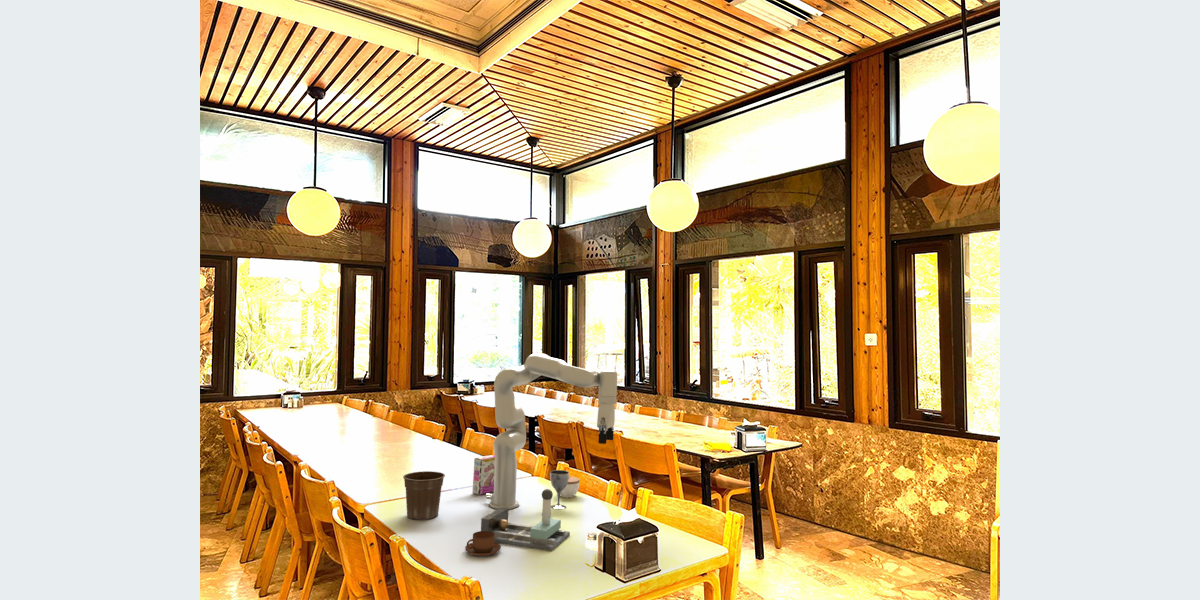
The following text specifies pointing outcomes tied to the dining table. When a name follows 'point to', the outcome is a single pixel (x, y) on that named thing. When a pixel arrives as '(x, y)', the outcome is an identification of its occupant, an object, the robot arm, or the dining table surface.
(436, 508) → the plant pot
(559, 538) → the press base
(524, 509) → the dining table surface
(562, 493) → the lidded jar
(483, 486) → the candy bar box
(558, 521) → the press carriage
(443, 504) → the dining table surface
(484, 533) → the cup and saucer
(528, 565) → the dining table surface
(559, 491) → the wine glass
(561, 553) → the dining table surface
